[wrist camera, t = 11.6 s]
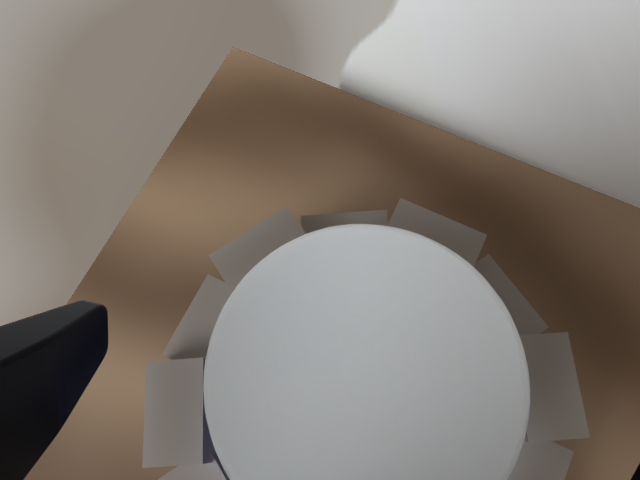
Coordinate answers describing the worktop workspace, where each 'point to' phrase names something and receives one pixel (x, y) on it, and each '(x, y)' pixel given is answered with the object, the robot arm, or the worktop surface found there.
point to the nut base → (350, 175)
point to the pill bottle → (366, 364)
